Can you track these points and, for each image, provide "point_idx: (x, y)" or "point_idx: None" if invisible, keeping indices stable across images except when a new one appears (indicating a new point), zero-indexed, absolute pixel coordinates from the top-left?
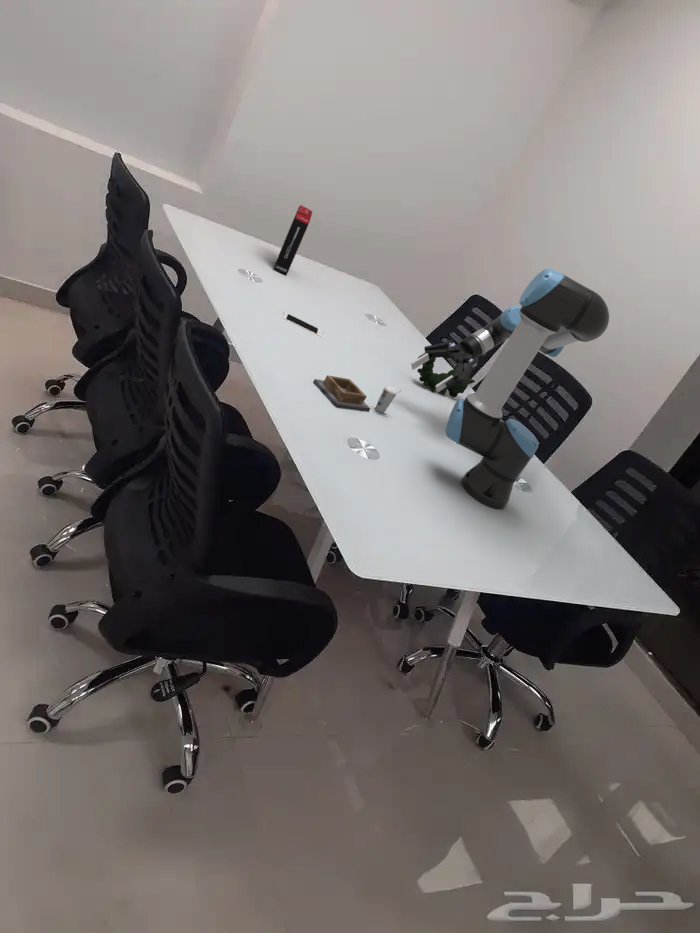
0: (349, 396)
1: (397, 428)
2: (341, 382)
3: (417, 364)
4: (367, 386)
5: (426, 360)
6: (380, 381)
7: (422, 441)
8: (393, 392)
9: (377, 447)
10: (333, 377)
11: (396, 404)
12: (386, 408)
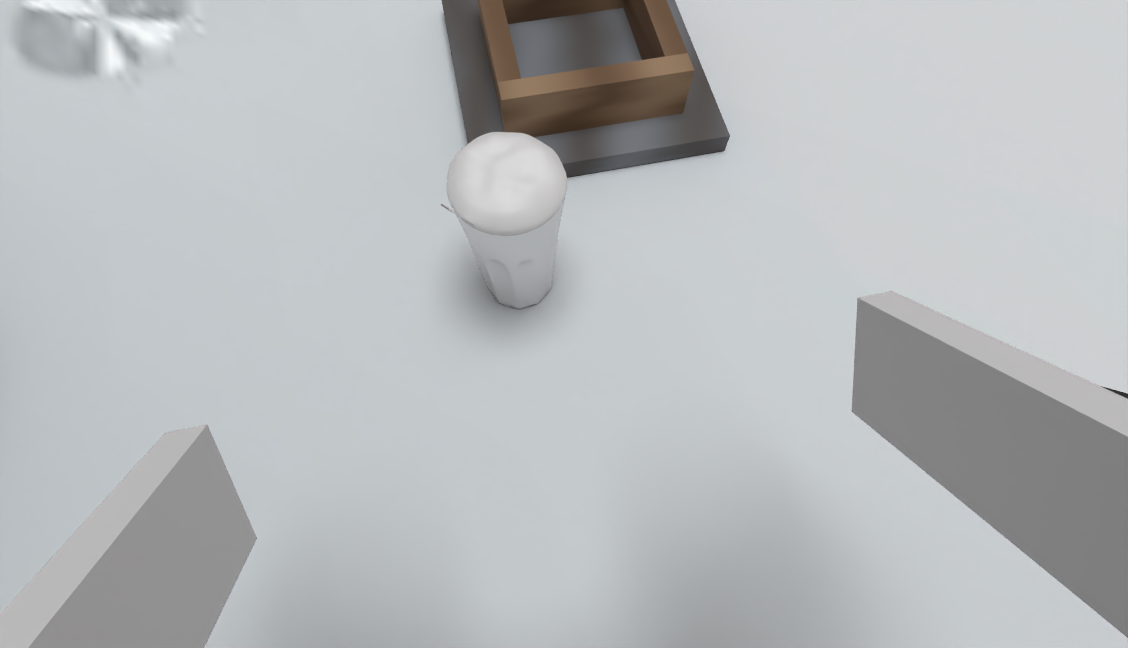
0: (482, 19)
1: (331, 331)
2: (647, 34)
3: (915, 406)
4: None
5: (1102, 582)
6: None
7: None
8: (450, 170)
9: (111, 90)
10: None
11: (717, 523)
12: (487, 278)
